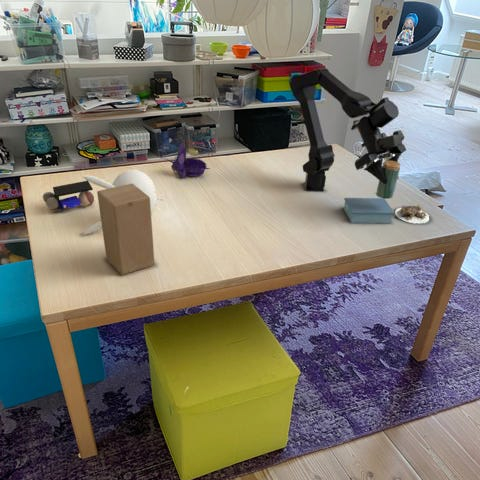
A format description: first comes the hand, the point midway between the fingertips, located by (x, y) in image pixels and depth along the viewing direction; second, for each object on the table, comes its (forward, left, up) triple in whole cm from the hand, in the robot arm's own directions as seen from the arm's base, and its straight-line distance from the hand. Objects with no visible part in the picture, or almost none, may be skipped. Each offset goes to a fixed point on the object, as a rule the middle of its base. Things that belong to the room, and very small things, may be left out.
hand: (391, 181), depth 156 cm
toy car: (-101, +7, -14) cm, 102 cm away
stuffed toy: (-83, -5, -14) cm, 84 cm away
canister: (-1, +1, -5) cm, 5 cm away
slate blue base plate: (-4, +3, -13) cm, 14 cm away
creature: (-64, +36, -14) cm, 75 cm away
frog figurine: (+11, +3, -14) cm, 18 cm away
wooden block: (-79, -26, -14) cm, 84 cm away
